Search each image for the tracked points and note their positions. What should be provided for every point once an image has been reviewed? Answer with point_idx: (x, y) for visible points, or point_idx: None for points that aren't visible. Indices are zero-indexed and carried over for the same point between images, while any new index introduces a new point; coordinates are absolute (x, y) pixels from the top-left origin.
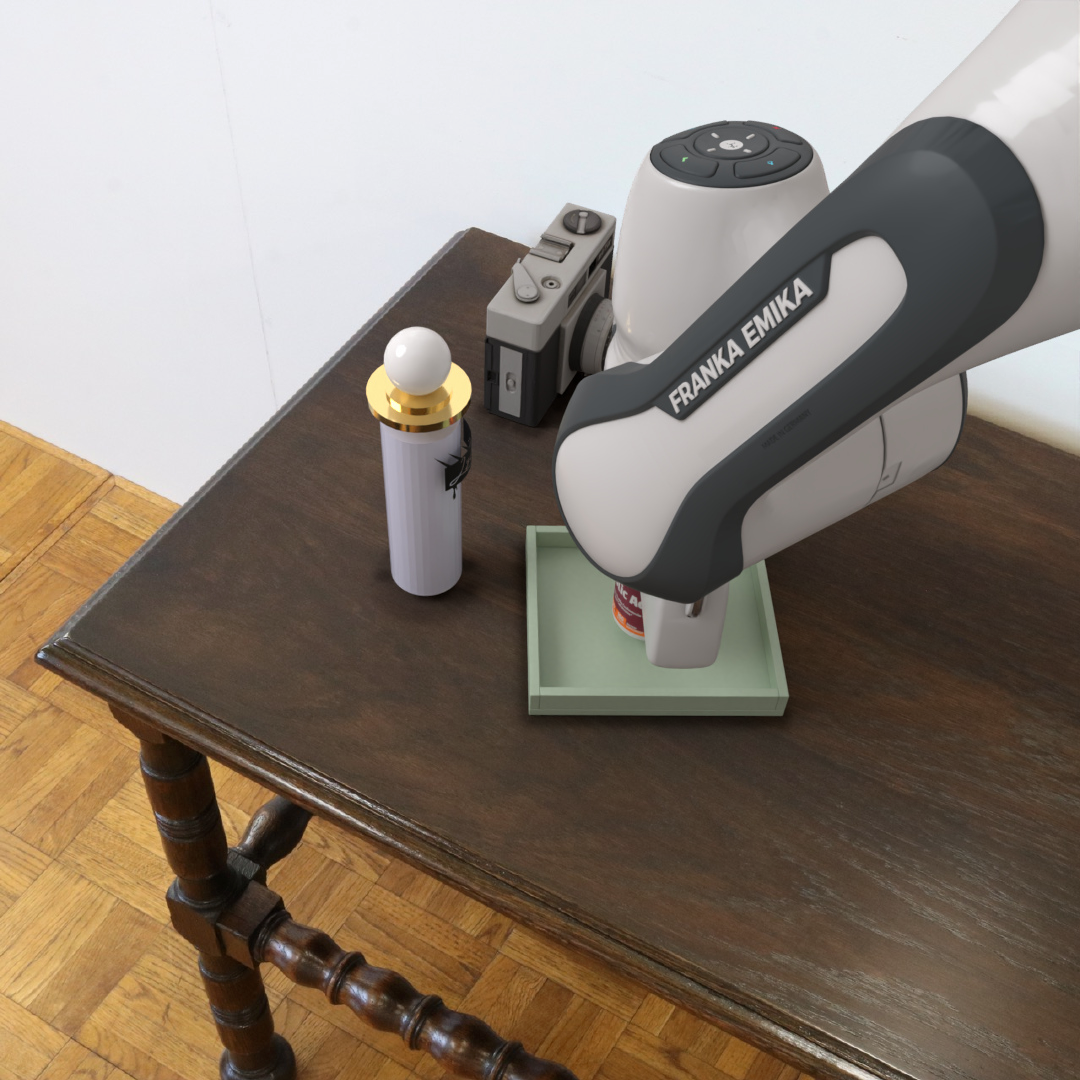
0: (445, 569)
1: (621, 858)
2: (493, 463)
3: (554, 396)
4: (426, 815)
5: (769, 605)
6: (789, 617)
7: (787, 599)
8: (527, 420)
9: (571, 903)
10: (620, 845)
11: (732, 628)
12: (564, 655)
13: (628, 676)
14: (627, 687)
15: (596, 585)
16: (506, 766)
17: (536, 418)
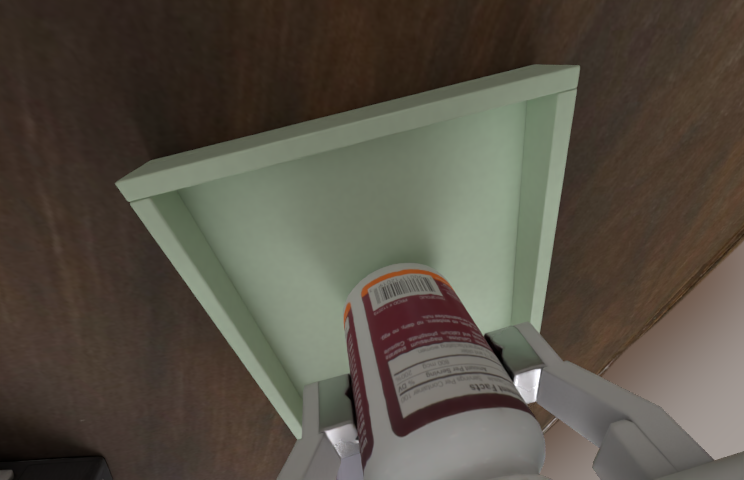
0: None
1: (677, 240)
2: (193, 459)
3: (23, 468)
4: (593, 371)
5: (350, 131)
6: (306, 63)
7: (258, 71)
8: (101, 472)
9: (701, 268)
10: (663, 244)
11: (378, 179)
12: None
13: (479, 291)
14: (494, 288)
15: (345, 350)
16: (561, 343)
17: (90, 471)
